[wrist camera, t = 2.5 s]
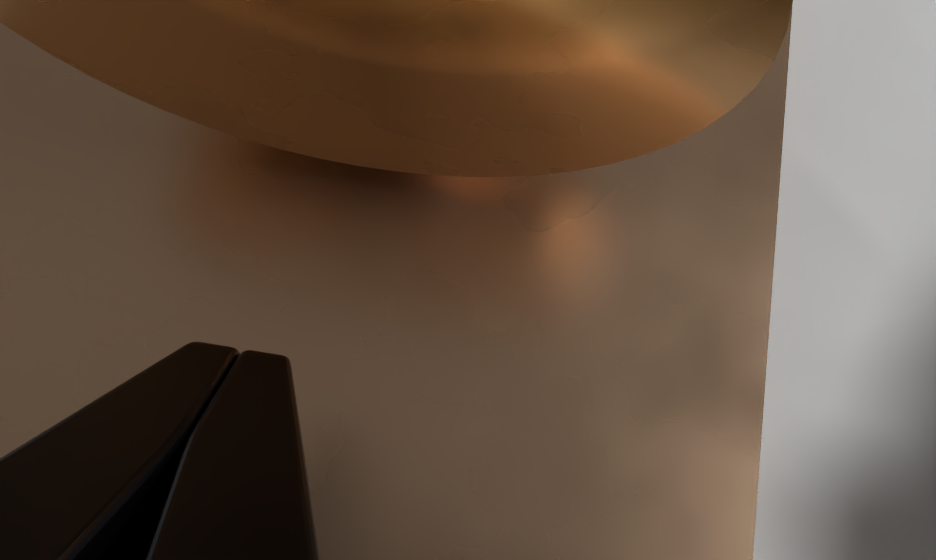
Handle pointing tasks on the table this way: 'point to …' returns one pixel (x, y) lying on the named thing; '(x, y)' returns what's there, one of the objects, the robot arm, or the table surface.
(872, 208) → the table surface
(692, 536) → the housing
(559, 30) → the gold rounded piece
